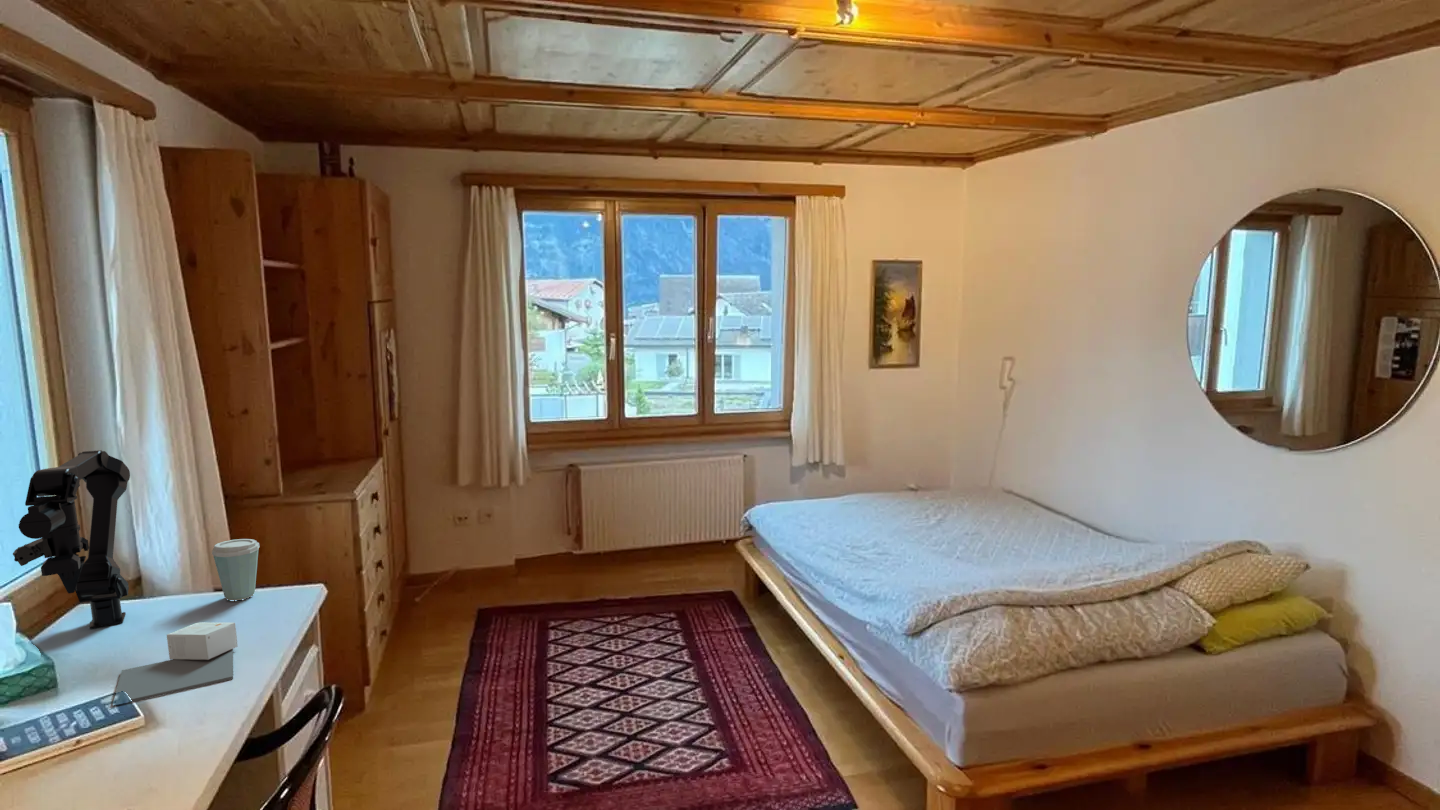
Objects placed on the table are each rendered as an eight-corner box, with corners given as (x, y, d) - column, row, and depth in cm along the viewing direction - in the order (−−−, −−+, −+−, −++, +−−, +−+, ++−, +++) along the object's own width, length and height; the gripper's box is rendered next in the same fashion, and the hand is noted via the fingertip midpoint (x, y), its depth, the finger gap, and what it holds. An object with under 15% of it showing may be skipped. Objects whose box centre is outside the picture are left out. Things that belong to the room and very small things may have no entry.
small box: (168, 659, 174) (207, 660, 172) (165, 634, 174) (204, 634, 171) (200, 646, 182) (238, 647, 180) (198, 621, 182) (236, 622, 179)
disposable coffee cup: (229, 590, 215) (223, 536, 213) (272, 588, 216) (266, 534, 214) (209, 606, 204) (202, 549, 202) (254, 603, 206) (247, 547, 203)
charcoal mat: (122, 672, 170) (121, 670, 170) (232, 649, 180) (232, 646, 180) (112, 706, 156) (112, 703, 156) (233, 678, 166) (232, 676, 166)
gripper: (21, 521, 181) (32, 587, 184) (4, 543, 166) (15, 615, 168) (84, 512, 187) (93, 577, 190) (73, 533, 172) (83, 603, 174)
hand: (71, 592), depth 180 cm, fingers closed
